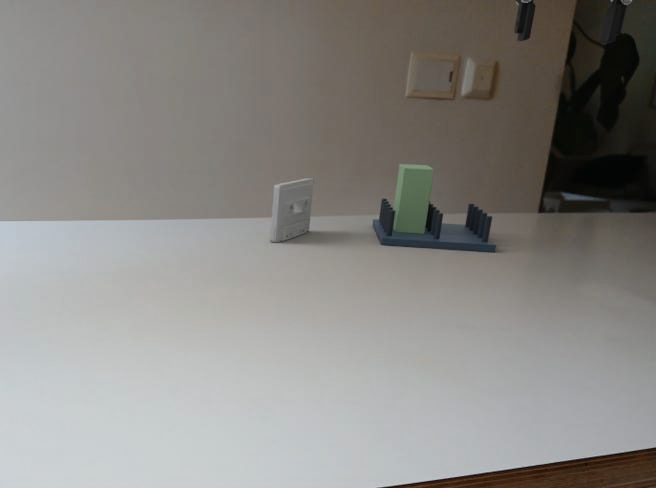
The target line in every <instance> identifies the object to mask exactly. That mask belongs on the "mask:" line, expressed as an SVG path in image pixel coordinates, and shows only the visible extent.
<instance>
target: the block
mask: <svg viewBox="0 0 656 488" xmlns="http://www.w3.org/2000/svg"><path fill="white" fill-rule="evenodd" d="M434 172H435V169H434V168H432V167H431V166H429V165H428V164H409V163H407V164H406V163H399V166H398V174H397V182H396V187H395V188H396V190H395V197H394V204H393V210H395V216H394V224H393V228H394V230H395V232H400V233H416V234H424V233H425V226H426V220H427V213H428V206H429V201H430V198H431V193H432V187H433V179H434Z"/></svg>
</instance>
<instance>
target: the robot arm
mask: <svg viewBox="0 0 656 488" xmlns="http://www.w3.org/2000/svg"><path fill="white" fill-rule="evenodd" d="M610 2H611V4H610V6H608V7H607V8H606V10H605V14H604V19H603V24H602V29H601V34H600V39H599V42H600V43H601V44H608V43H615V41H616V39H617V36H620V35H621V32H622V30H623V24H624V20H625V15H626V11H627V7H628V5H630V4H631V3H632V2H633V0H610ZM515 3H516V5H518V8H517V12H516V18H515V25H514V30H513V31H514V32H513V33H514V34H517V38H516V41H517V42H523V41H527V40H529V39H530V38H531V33H532V29H533V23H534V17H535V12H536V4H535V2H534V0H515Z"/></svg>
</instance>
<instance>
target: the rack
mask: <svg viewBox="0 0 656 488" xmlns="http://www.w3.org/2000/svg"><path fill="white" fill-rule="evenodd" d="M394 216H395V210H394V206H392V204H391V203H390V201H388V198H381V201H380V209H379V218H378V219H376V218H373V219H372V228H373V229H374V232H375V234H376V236H377V239H378V241H379V243H380V245H381V246H394V247H409V248H424V249H441V250H453V251H454V250H455V251H469V252H487V253H496V249H497V244H496V243H495V242H494V241H492V240H491V239H490V232H491V228H492V221H493V216H492V215H489V214H488V212H485V211H484V210H483V209H481V208H480V207H479V205H478V206H477V205H475V203H474V202H473V203H471V202H469V203H468V205H467V212H466V219H465V224H462V223H461V224H459V223H445V222H443V218H444V213H443V212H441V210H440V209H437V206H434V203H431V201H430V200H429V206H428V213H427V220H426V226H425V233H424V234H416V233H400V232H395V230H394V228H393V224H394Z"/></svg>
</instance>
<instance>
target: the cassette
mask: <svg viewBox="0 0 656 488" xmlns="http://www.w3.org/2000/svg"><path fill="white" fill-rule="evenodd" d="M314 181H315V180H314V178H313V177H311V178H310V177H306V178H302V179H297V180H292V181H286V182H281V183H277V184H274V186H273V194H272V195H273V197H272V209H271V221H270V222H271V223H270V235H269V237H270V238H269V241H270V242H272V243H279V242H284V241H288V240H290V239H293V238H296V237H298V236H302V235H304V234H307V233H308V232H309V231H310V224H311V216H312V215H311V214H312V205H313V204H312V203H313V192H314V183H315V182H314ZM307 231H308V232H307Z"/></svg>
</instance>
